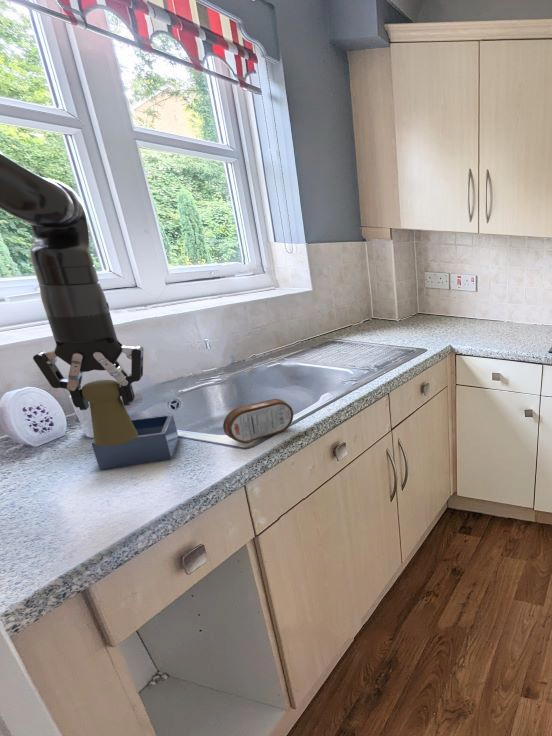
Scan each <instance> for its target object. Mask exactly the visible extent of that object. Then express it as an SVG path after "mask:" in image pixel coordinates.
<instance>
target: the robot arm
mask: <svg viewBox="0 0 552 736" xmlns="http://www.w3.org/2000/svg"><path fill="white" fill-rule="evenodd" d="M0 210H2V211H4V212H5V213H7V214H9V215H10V216H12V217H14V218H16V219H18V220H20V221H22V222H25V223H27V224H30V227H31V232H32V236H33V245H32V246H31V247H30V250H29V256H30V261H31V265H32V268H33V270H34V274H35V277H36V280H37V283H38V286H39V294H40V299H41V303H42V305H43V308H44V312H45V315H46V318H47V321H48V324H49V327H50V329H51V333H52V336H53V339H54V342H55V348H54V350H49V351H44V350H43V351H40V352H38V353H36V354H35V355H33V356H32V360H33V361H34V363H35V364H36V366H37V367H38V369H39V370H40V372H41V373H42V375H43V376H44V377H45V379H46V380H47V382H48V383H49V385H50V387H52V388H53V389H64V390H67V391H68V392H69V396H70V395H71V398H72V401H73V404H74V406H75V407H76V408H77V407H79V408H80V410H87V409H88V407H89V403H88V401H87V400H85V399H84V397H83V395H82V387H83V386H82V382H83V377H84V374H85V372H91V371H101V372H102V371H106V372H107V373H108V374H109V375H110V376H111V377H113V378H114V379H115V381H117V382H118V383H119V384H120V386H119V390H120V393H121V400H122V402H123V404H124V406H125V407H126V406H127V407H128V406H131V404H132V402H134V400H135V397H136V396H135V392H134V388H133V384H132V383H136V382H139V381H140V380H141V378H142V377H143V376H144V347H143V346H141V345H136V346H127V345H123V344H122V343H121V342H120V341H119V340H118V337H117V333H116V330H115V327H114V323H113V319H112V316H111V311H110V306H109V302H108V301H107V298H106V294H105V293H104V292H105V291H104V290H103V289H102V285H101V283H100V280H99V276H98V273H97V268H96V266H95V262H94V260H93V258H92V257H93V256H92V254H91V248H90V235H89V233H90V232H89V224H88V218H87V214H86V210H85V207H84V204H83V202H82V200H81V198H80V197H79V196H78V194H77V193H76V191H74V190H73V189H72V188H71V187H70V186H69V185H67V184H65V183H63V182H61V181H58V180H55V179H52V178H48V177H42V176H40V175H39V174H36V173H34V172H33V171H31V170H29V169H28V168H26V167H24V166H23V165H21V164H19V163H17V162H16V161H14V160H13V159H11V158H9V157H7V156H6V155H4V154H3V153H2V152H1V151H0ZM121 354H125V356H126V358H127V359H129V360H131V366H130V367H131V368H130V369H131V373H130V374H128V372H127V371H126V370H125V369H124V366H123V365H122V364H121V363H120V362H119V360H118V359H119V357H120V356H121ZM57 358H58V359H60V360H62V361H63V362H65V363H66V364H68V365H69V366H70V367H69V371H68V378H66V377H64V375H63V373H62V372H61V371H60V369H59V368H58V366H57V364H56V363H57V362H58V359H57ZM73 404H72V405H73Z"/></svg>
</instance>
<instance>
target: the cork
mask: <svg viewBox="0 0 552 736" xmlns="http://www.w3.org/2000/svg"><path fill="white" fill-rule="evenodd" d="M119 386H120V384H119V383H118V382H117V380H114V379H99V380H94V381H93V380H92V381H90V382H87V383H85V384H83V386H81V387H82V395H83V397H84V399H85V400H87V401H88V402H89V403H90V410H91V418H92V426H93V434H94V438H93V440H94V442H95V444H96V445H98V446H111V445H117V444H122V443H125V442H129V441H131V440H133V439H135V438H136V437H137V436H138V433H137V431H136V429H135V427H134V425H133V423H132V421H131V419H132V418H131V417H130V415H129V412H128V410H127V408H126V406H124V403H123V400H122V396H121V393H120V390H119Z"/></svg>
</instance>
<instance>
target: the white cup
mask: <svg viewBox="0 0 552 736" xmlns="http://www.w3.org/2000/svg"><path fill="white" fill-rule="evenodd" d="M68 397H69V399H70V401H71V404H72V407H73V409H74V412H75V414H76V416H77V419H78V421H79V423H80V426H82V429H83V431H84V434H85V436H86V437H87V438H90V439H91V438H92V439H94V434H93V426H92V418H91V410H90V403H89V402H88V403H89V407H88V409H87V410H80V408H79V407H77V408H76V407H75V406H74V404H73V401H72V398H71V395H70V394H69V396H68Z"/></svg>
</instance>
